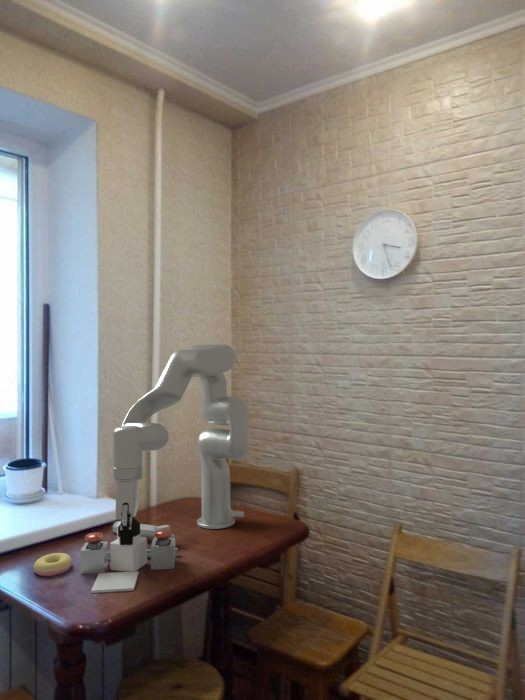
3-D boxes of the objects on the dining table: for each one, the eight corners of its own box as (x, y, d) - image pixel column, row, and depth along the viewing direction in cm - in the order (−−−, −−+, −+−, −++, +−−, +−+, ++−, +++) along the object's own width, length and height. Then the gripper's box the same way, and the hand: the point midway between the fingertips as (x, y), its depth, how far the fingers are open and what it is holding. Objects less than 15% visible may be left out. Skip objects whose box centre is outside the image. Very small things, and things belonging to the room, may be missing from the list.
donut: (75, 571, 147) (41, 566, 147) (78, 553, 147) (44, 548, 147) (62, 580, 137) (26, 575, 137) (65, 561, 137) (29, 556, 137)
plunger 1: (105, 561, 145) (104, 531, 145) (102, 568, 140) (101, 537, 140) (87, 562, 144) (87, 532, 144) (83, 569, 140) (83, 538, 140)
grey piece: (122, 518, 173) (176, 521, 159) (124, 539, 173) (179, 543, 158) (109, 522, 169) (163, 525, 155) (111, 544, 169) (166, 549, 154)
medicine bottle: (147, 563, 145) (147, 518, 145) (133, 573, 139) (132, 527, 139) (125, 560, 148) (124, 516, 148) (109, 570, 141) (109, 524, 141)
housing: (177, 554, 151) (177, 533, 151) (176, 568, 142) (175, 545, 142) (86, 559, 148) (86, 538, 148) (78, 573, 139) (78, 550, 139)
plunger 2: (172, 557, 147) (172, 528, 147) (171, 564, 142) (171, 534, 142) (155, 558, 146) (155, 529, 146) (154, 565, 142) (153, 535, 142)
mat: (138, 573, 138) (138, 571, 138) (133, 590, 129) (133, 587, 129) (98, 575, 137) (98, 573, 137) (90, 593, 127) (90, 590, 127)
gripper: (118, 466, 152) (119, 529, 151) (107, 481, 134) (108, 551, 134) (145, 465, 152) (146, 528, 152) (138, 479, 135) (139, 550, 135)
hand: (128, 538), depth 143 cm, fingers closed on medicine bottle, 7 cm apart
